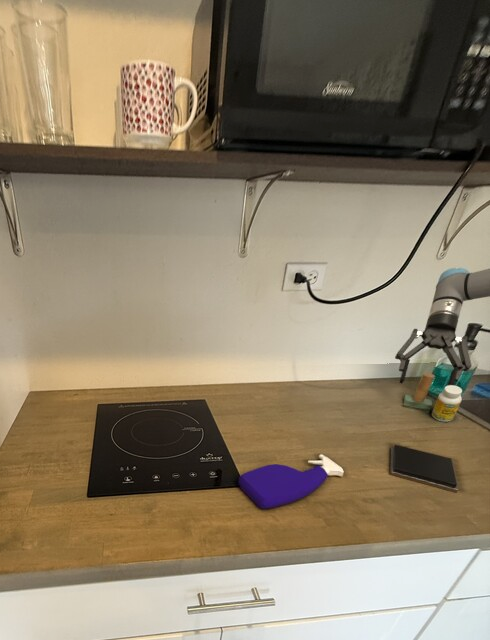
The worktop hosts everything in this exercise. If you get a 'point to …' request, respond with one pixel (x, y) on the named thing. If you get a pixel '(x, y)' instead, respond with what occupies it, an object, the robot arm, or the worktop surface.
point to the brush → (420, 394)
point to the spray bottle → (285, 482)
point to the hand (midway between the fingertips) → (425, 385)
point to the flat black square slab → (423, 468)
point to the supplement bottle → (447, 403)
